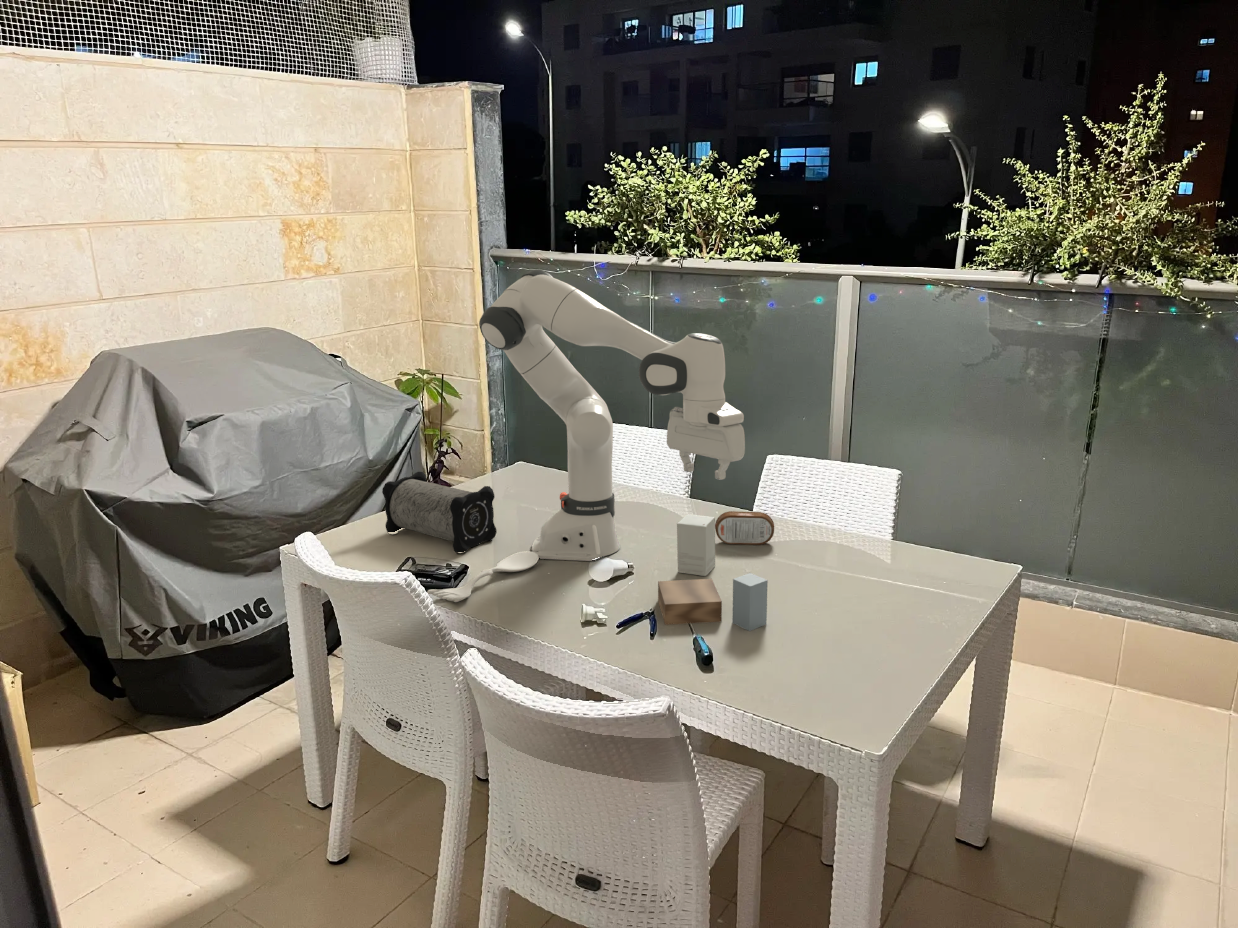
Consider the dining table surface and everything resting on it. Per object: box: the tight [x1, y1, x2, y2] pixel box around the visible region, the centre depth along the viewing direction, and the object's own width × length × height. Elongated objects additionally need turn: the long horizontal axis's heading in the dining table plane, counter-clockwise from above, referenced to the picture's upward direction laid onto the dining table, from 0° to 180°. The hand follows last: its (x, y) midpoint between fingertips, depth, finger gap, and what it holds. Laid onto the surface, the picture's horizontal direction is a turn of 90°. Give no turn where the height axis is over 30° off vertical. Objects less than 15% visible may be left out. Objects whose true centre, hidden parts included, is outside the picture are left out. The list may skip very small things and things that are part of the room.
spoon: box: [426, 550, 539, 603], centre depth 223 cm, size 9×32×4 cm, turn 146°
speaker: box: [381, 471, 498, 553], centre depth 251 cm, size 15×29×15 cm, turn 55°
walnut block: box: [657, 578, 723, 626], centre depth 206 cm, size 12×12×5 cm
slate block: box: [731, 572, 769, 632], centre depth 198 cm, size 5×5×10 cm
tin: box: [715, 510, 775, 546], centre depth 243 cm, size 15×3×8 cm, turn 84°
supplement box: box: [676, 513, 716, 577], centre depth 227 cm, size 7×7×13 cm
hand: (704, 475), depth 204 cm, fingers open, 8 cm apart
